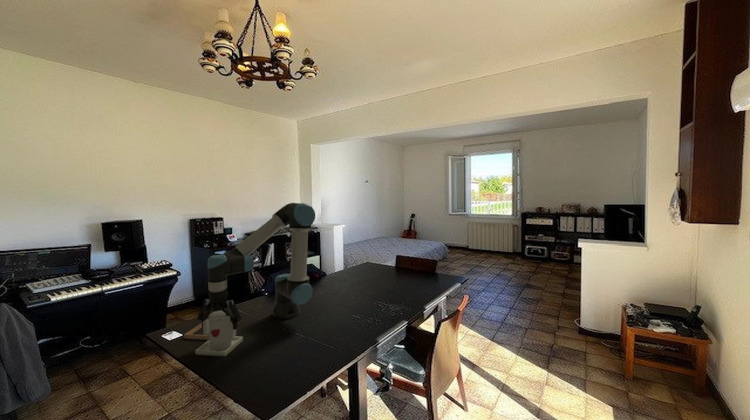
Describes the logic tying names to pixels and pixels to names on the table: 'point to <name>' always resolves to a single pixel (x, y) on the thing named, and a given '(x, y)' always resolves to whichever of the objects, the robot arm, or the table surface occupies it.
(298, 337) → the table surface
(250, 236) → the robot arm
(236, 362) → the table surface
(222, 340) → the supplement box
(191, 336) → the frame
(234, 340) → the tray
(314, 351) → the table surface
